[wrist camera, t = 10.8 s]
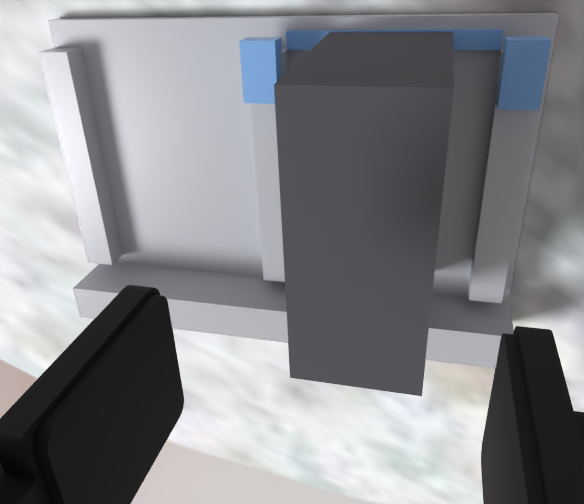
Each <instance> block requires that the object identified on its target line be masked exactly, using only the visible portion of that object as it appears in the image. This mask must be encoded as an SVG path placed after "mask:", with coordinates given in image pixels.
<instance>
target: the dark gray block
mask: <svg viewBox="0 0 584 504" xmlns="http://www.w3.org/2000/svg"><path fill="white" fill-rule="evenodd" d="M453 91H454V68H453V32H329V33H328V34H327V35H326V36H325V37H324V38H323V39H322V40H321V41H320V42H319V43H318V44H316V45H315V46H314V47H313V48H312V49H311V50H310V51H309V52H308V53H307V54H306V55H305V56H304V57H303V58H302V59H301V60H299V61H298V62H297V63H296V64H295V65H294V66H293V67H292V68H291V69H290V70H289V71H288V72H287V73H286V74H285V75H284V76H283V77H281V78H280V79H279V80H278V81H277V82H276V83H275V84H274V95H275V113H276V131H277V149H278V167H279V185H280V203H281V221H282V238H283V256H284V274H285V292H286V310H287V328H288V346H289V364H290V378H297V379H304V380H311V381H318V382H325V383H332V384H340V385H347V386H354V387H361V388H368V389H375V390H382V391H389V392H396V393H404V394H411V395H418V396H422V388H423V378H424V369H425V359H426V350H427V340H428V331H429V321H430V311H431V302H432V292H433V283H434V273H435V264H436V254H437V244H438V235H439V225H440V216H441V206H442V196H443V187H444V177H445V168H446V158H447V149H448V139H449V129H450V120H451V110H452V101H453Z"/></svg>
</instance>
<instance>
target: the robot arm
mask: <svg viewBox="0 0 584 504" xmlns="http://www.w3.org/2000/svg"><path fill="white" fill-rule="evenodd" d="M183 405H184V396H183V390H182V384H181V378H180V372H179V366H178V360H177V354H176V348H175V342H174V336H173V330H172V324H171V318H170V312H169V306H168V301H167V298H166V297H165V296H162V295H160V292H159V291H158V289H157V288H155V287H146V286H136V285H127V286H126V287H124V288H123V289H122V290H121V292H120V293H119V294H118V295H117V296H116V297H115V298H114V299H113V300H112V301H111V302H110V303H109V304H108V305H107V306H106V307H105V308H104V309H103V311H102V312H101V313H100V314H99V315H98V316H97V317H96V318H95V319H94V320H93V321H92V322H91V323H90V324H89V325H88V326H87V327H86V329H85V330H84V331H83V332H82V333H81V334H80V335H79V336H78V337H77V338H76V339H75V340H74V341H73V342H72V343H71V344H70V345H69V347H68V348H67V349H66V350H65V351H64V352H63V353H62V354H61V355H60V356H59V357H58V358H57V359H56V360H55V361H54V362H53V363H52V365H51V366H50V367H49V368H48V369H47V370H46V371H45V372H44V373H43V374H42V375H41V376H40V377H39V378H38V379H37V380H36V381H35V382H34V384H33V385H32V386H31V387H30V388H29V389H28V390H27V391H26V392H25V393H24V394H23V395H22V396H21V398H20V399H18V401H17V402H16V403H15V404H14V405H13V406H12V407H11V408H10V409H9V410H8V411H7V412H6V413H5V414H4V415H3V416H2V418H1V419H0V504H130V503H131V502H132V500H133V498H134V496H135V495H136V493H137V491H138V489H139V488H140V486H141V484H142V482H143V481H144V479H145V477H146V475H147V473H148V472H149V470H150V468H151V466H152V465H153V463H154V461H155V459H156V458H157V456H158V454H159V452H160V451H161V449H162V447H163V445H164V444H165V442H166V440H167V438H168V437H169V435H170V433H171V431H172V430H173V428H174V426H175V424H176V423H177V421H178V419H179V417H180V415H181V413H182V410H183ZM481 469H482V485H483V501H484V504H584V412H576V411H573V407H572V404H571V400H570V396H569V392H568V389H567V385H566V381H565V377H564V374H563V370H562V366H561V362H560V359H559V355H558V351H557V347H556V344H555V340H554V336H553V333H552V331H551V330H548V329H539V328H529V327H520V326H516V327H515V329H514V333H513V334H507V333H503V334H502V336H501V340H500V346H499V352H498V357H497V363H496V369H495V374H494V380H493V386H492V391H491V397H490V403H489V408H488V414H487V420H486V425H485V431H484V437H483V442H482V451H481Z"/></svg>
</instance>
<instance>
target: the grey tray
mask: <svg viewBox="0 0 584 504" xmlns="http://www.w3.org/2000/svg"><path fill="white" fill-rule="evenodd" d="M559 15H560V14H558V13H556V12H554V13H472V14H390V15H309V16H227V17H146V18H64V19H53V20H48V22H49V26H50V31H51V35H52V40H53V44H54V48H53V49H49V50H45V51H41V52H38V53H39V58H40V62H41V66H42V70H43V74H44V79H45V83H46V87H47V91H48V95H49V100H50V104H51V108H52V112H53V116H54V121H55V125H56V129H57V133H58V137H59V142H60V146H61V150H62V154H63V158H64V163H65V167H66V171H67V175H68V179H69V184H70V188H71V192H72V196H73V200H74V205H75V209H76V213H77V217H78V221H79V226H80V230H81V234H82V238H83V243H84V247H85V251H86V255H87V259H88V263H98V264H99V265H98V266H97V267H96V268H95V269H93V270H92V271H91V272H90V273H89V274H88V275H87V276H86V277H85V278H84V279H83V280H81V281H80V282H79V283H78V284H77V285H76V286H75V287H74V288H73V291H74V295H75V298H76V302H77V306H78V310H79V314H80V317H85V318H93V319H95V318H96V317H97V316H98V315H99V314H100V313H101V312H102V311H103V309H104V308H105V307H106V306H107V305H108V304H109V303H110V302H111V301H112V300H113V299H114V298H115V297H116V296H117V295H118V294H119V293H120V292H121V290H122V289H123V288H124V287H126V286H127V285H136V286H146V287H155V288H157V289H158V291H159V292H160V295H162V296H165V297H166V298H167V301H168V306H169V312H170V318H171V324H172V328H173V329H181V330H189V331H197V332H206V333H214V334H222V335H230V336H238V337H246V338H254V339H262V340H270V341H278V342H286V343H288V328H287V310H286V292H285V274H284V256H283V238H282V221H281V203H280V185H279V167H278V149H277V131H276V113H275V95H274V84H275V83H276V82H277V81H278V80H279V79H280V78H281V77H283V76H284V75H285V74H286V73H287V72H288V71H289V70H290V69H291V68H292V67H293V66H294V65H295V64H296V63H297V62H298V61H299V60H301V59H302V58H303V57H304V56H305V55H306V54H307V53H308V52H309V51H310V50H311V49H312V48H313V47H314V46H315V45H316V44H318V43H319V42H320V41H321V40H322V39H323V38H324V37H325V36H326V35H327V34H328V33H329V32H453V68H454V91H453V101H452V110H451V120H450V129H449V139H448V149H447V158H446V168H445V177H444V187H443V196H442V206H441V216H440V225H439V235H438V244H437V254H436V264H435V273H434V283H433V292H432V302H431V311H430V321H429V331H428V340H427V350H426V359H425V360H431V361H439V362H447V363H455V364H463V365H472V366H480V367H488V368H496V363H497V357H498V352H499V346H500V340H501V336H502V334H503V333H507V334H513V333H514V330H513V324H512V318H511V312H510V306H509V297H510V291H511V285H512V280H513V274H514V269H515V263H516V257H517V252H518V246H519V240H520V235H521V229H522V224H523V218H524V212H525V207H526V201H527V195H528V190H529V184H530V178H531V173H532V167H533V162H534V156H535V150H536V145H537V139H538V133H539V128H540V122H541V117H542V111H543V105H544V100H545V94H546V88H547V83H548V77H549V72H550V66H551V60H552V55H553V49H554V43H555V38H556V32H557V26H558V21H559Z"/></svg>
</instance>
